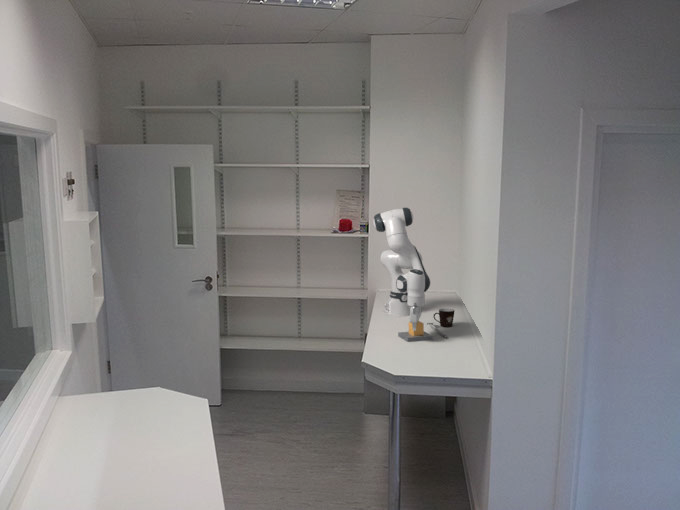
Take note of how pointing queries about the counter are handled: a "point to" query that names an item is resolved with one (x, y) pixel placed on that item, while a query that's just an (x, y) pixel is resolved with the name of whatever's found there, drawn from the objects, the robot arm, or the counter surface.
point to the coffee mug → (445, 317)
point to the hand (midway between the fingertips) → (415, 328)
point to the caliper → (437, 329)
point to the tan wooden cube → (417, 329)
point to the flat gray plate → (414, 337)
